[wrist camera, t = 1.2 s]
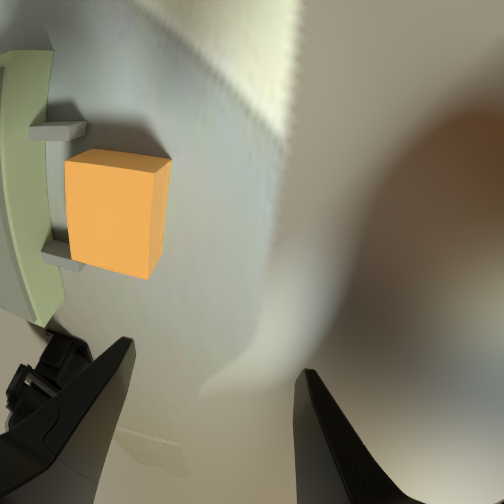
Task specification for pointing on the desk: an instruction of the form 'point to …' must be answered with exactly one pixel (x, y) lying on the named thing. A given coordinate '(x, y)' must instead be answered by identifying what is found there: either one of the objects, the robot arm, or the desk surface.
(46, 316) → the sage green lidded box
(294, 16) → the desk surface
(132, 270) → the amber cuboid
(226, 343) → the desk surface
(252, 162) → the desk surface
